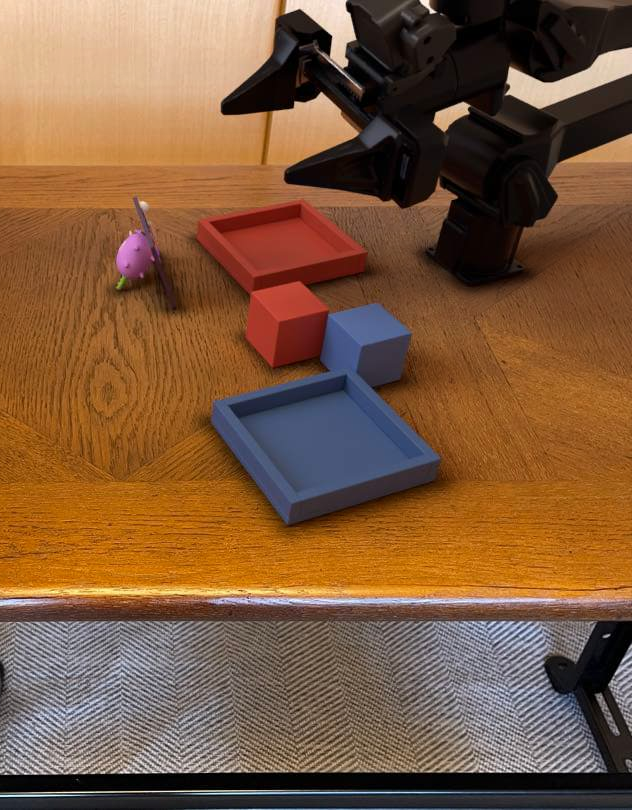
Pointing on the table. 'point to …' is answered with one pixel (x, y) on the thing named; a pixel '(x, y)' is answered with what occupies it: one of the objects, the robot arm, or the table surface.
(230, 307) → the table surface
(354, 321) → the blue block
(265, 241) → the red tray
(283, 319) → the red block
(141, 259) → the pink spiky toy
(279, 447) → the blue tray
